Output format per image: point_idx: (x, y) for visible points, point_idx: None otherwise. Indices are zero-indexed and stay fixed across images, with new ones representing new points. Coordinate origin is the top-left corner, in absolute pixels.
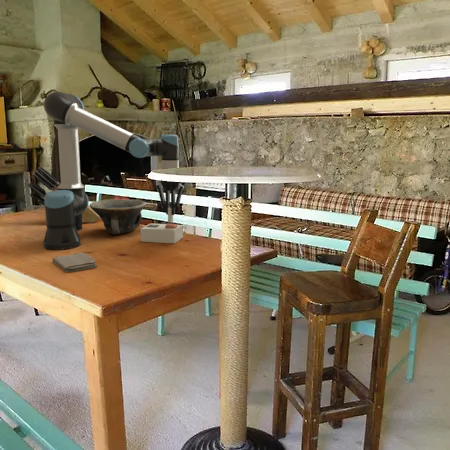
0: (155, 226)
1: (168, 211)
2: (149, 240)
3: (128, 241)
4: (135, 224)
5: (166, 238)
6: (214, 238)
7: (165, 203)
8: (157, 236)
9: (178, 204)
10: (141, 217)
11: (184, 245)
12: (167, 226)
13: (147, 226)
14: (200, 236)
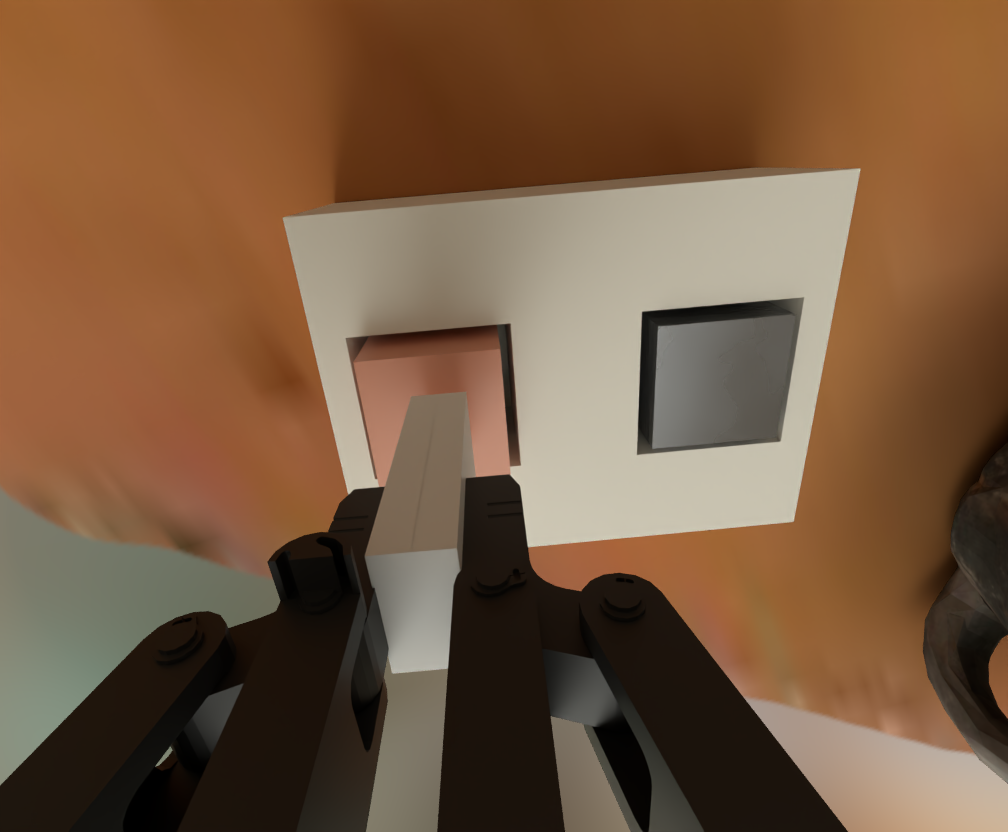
0: (658, 331)
1: (445, 496)
2: (654, 176)
3: (907, 122)
4: (968, 625)
5: (432, 198)
6: (85, 535)
7: (592, 722)
8: (557, 187)
9: (172, 748)
10: (962, 727)
11: (168, 140)
12: (466, 347)
13: (782, 314)
14: (256, 563)
